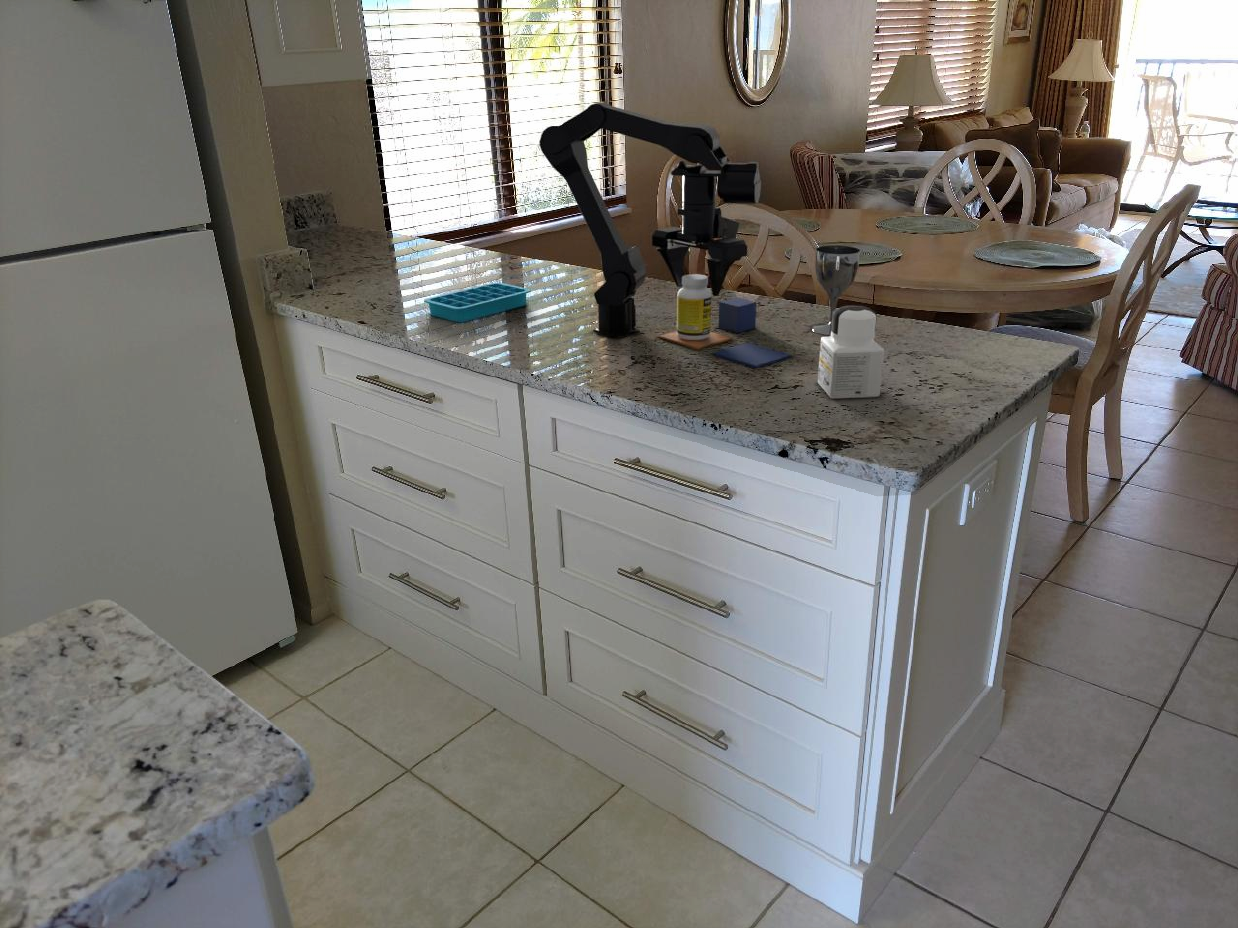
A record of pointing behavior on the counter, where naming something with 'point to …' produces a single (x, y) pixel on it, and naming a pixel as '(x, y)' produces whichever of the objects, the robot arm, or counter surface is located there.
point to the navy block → (737, 315)
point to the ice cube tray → (477, 301)
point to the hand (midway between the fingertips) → (697, 291)
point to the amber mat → (696, 344)
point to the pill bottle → (694, 308)
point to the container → (851, 355)
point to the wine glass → (835, 275)
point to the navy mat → (752, 355)
